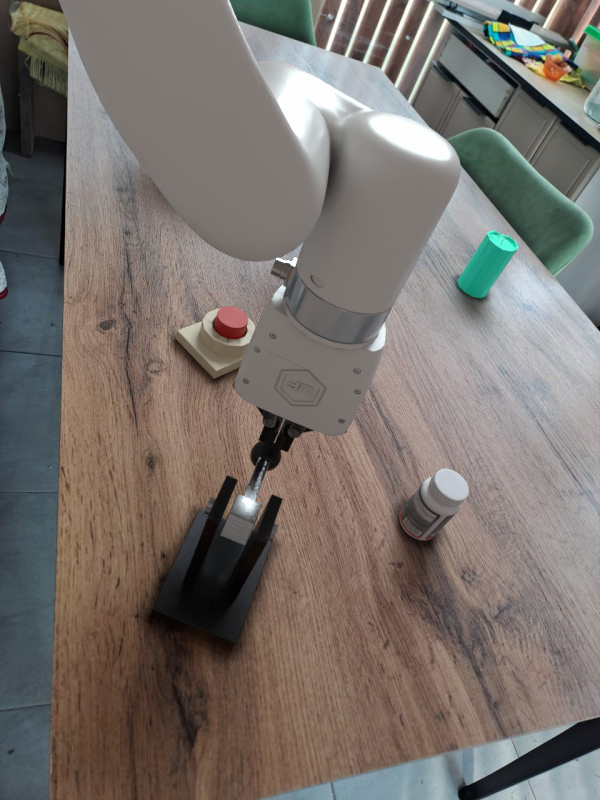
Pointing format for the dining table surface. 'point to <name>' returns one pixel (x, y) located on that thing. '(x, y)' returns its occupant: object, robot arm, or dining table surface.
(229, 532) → the lever
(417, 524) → the pill bottle
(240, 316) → the button
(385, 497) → the dining table surface
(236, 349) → the button box
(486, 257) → the candle
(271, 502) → the bracket
